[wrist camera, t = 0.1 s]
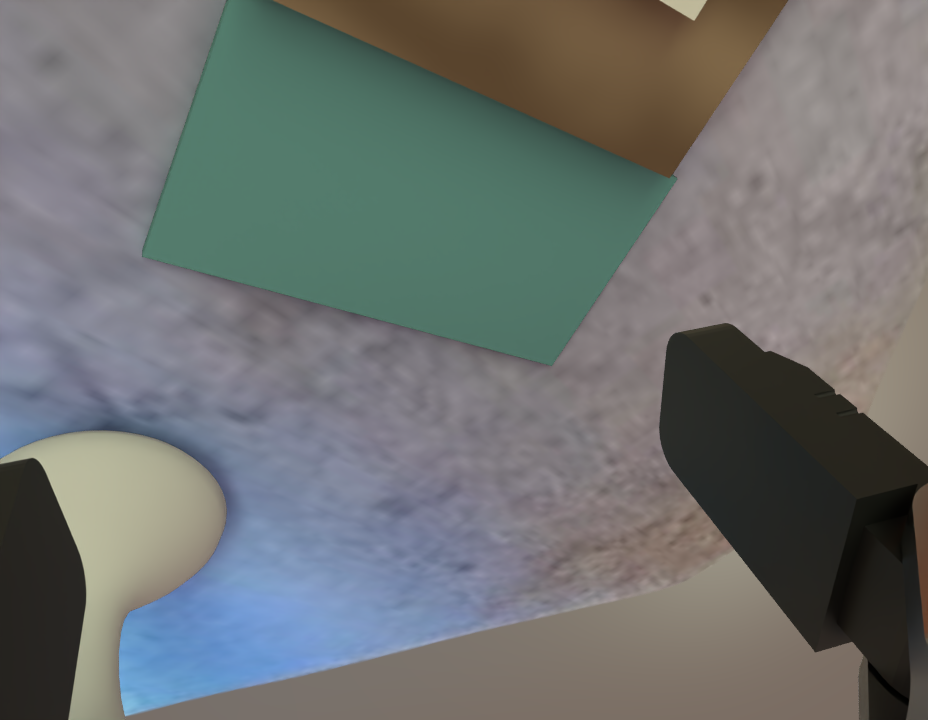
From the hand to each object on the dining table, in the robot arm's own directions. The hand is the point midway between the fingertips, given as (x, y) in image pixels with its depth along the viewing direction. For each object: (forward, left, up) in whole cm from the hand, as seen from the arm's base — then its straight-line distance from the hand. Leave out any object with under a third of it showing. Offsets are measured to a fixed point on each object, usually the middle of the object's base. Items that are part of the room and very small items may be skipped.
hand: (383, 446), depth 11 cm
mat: (+5, +9, -22) cm, 25 cm away
